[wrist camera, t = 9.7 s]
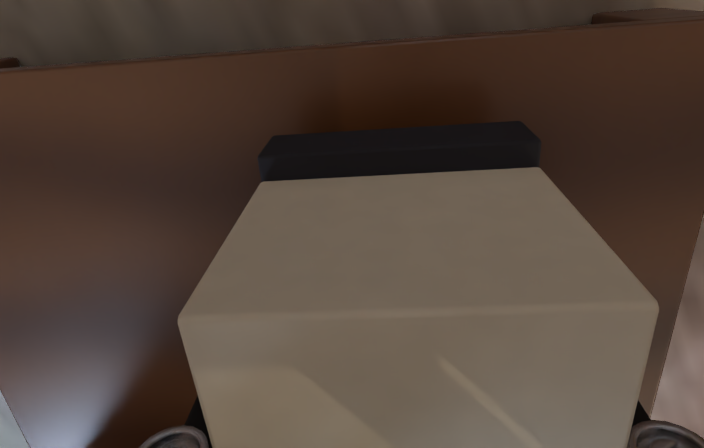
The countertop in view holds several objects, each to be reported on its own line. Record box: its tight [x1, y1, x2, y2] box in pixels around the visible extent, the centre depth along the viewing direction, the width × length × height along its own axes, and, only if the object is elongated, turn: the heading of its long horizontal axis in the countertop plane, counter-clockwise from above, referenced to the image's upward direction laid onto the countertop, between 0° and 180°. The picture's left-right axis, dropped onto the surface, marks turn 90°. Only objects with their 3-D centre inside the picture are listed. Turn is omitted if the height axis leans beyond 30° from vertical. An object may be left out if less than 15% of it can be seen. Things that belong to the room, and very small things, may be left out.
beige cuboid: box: [178, 121, 659, 448], centre depth 10 cm, size 12×5×6 cm, turn 4°
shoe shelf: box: [0, 8, 704, 448], centre depth 14 cm, size 17×22×12 cm
